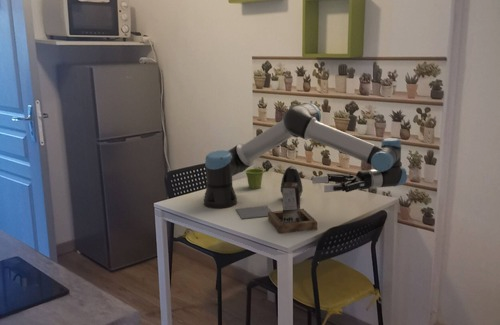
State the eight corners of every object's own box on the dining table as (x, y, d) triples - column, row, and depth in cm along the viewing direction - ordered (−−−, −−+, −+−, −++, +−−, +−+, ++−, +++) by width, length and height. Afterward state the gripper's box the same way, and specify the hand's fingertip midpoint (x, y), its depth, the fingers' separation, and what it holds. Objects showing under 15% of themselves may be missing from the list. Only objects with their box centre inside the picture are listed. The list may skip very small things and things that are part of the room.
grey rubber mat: (241, 219, 204) (241, 218, 204) (235, 209, 216) (235, 208, 216) (274, 215, 207) (274, 214, 207) (267, 206, 219) (266, 205, 219)
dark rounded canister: (302, 195, 235) (302, 163, 231) (302, 201, 224) (302, 169, 221) (281, 195, 236) (280, 164, 232) (280, 201, 226) (279, 169, 222)
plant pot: (265, 185, 254) (265, 168, 252) (262, 190, 245) (261, 173, 243) (248, 184, 256) (247, 168, 254) (243, 189, 247) (243, 172, 245)
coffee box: (299, 228, 192) (298, 188, 188) (282, 227, 193) (281, 187, 189) (300, 220, 200) (300, 181, 197) (285, 219, 202) (284, 181, 198)
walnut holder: (279, 233, 187) (279, 225, 186) (268, 219, 203) (268, 212, 203) (317, 229, 190) (317, 221, 189) (303, 215, 206) (303, 208, 206)
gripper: (382, 196, 188) (330, 202, 184) (355, 181, 212) (308, 185, 208) (383, 177, 187) (330, 182, 182) (355, 163, 210) (308, 168, 206)
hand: (318, 184), depth 195 cm, fingers open, 13 cm apart
